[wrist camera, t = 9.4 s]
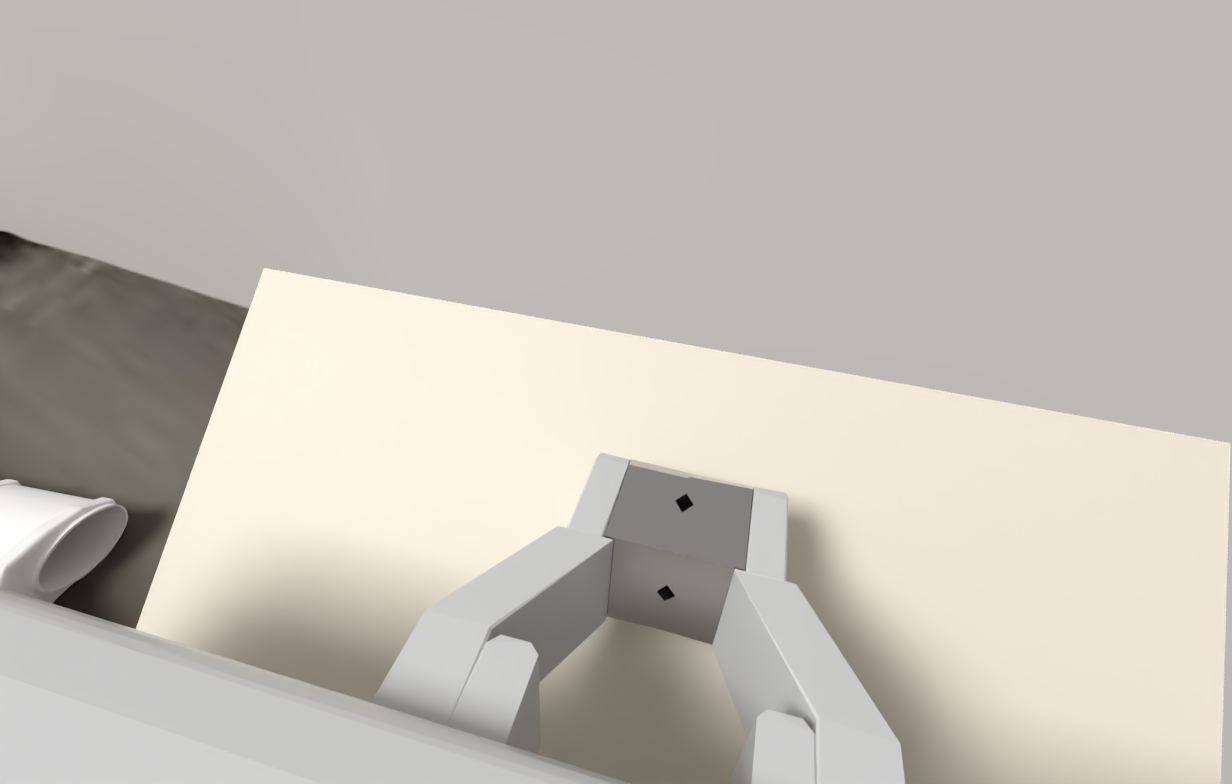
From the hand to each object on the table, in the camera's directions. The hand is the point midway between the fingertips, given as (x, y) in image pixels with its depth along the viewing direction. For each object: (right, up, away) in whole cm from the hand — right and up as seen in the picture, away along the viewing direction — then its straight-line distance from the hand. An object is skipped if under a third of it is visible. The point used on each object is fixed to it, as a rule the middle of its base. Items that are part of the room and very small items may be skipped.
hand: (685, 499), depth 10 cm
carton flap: (-1, -2, 0) cm, 2 cm away
